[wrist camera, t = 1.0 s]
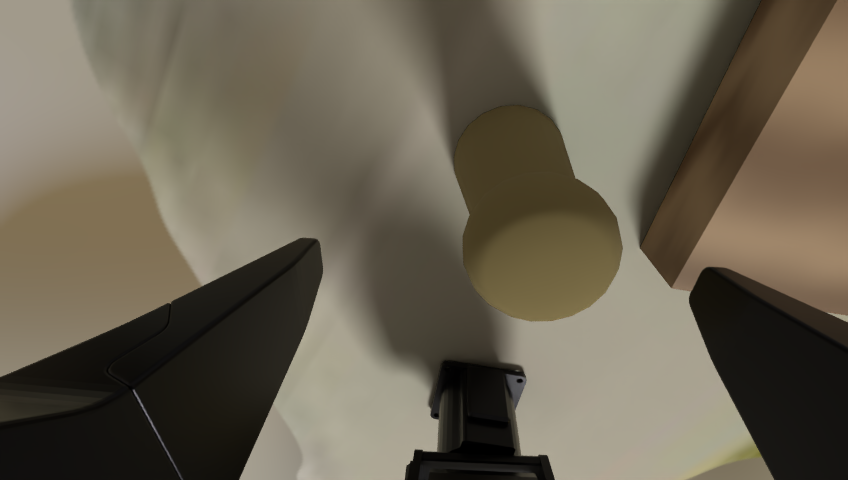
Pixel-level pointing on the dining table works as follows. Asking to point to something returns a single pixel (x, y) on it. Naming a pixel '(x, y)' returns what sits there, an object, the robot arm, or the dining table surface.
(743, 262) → the walnut base
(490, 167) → the olive-brown rounded piece
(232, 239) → the dining table surface
